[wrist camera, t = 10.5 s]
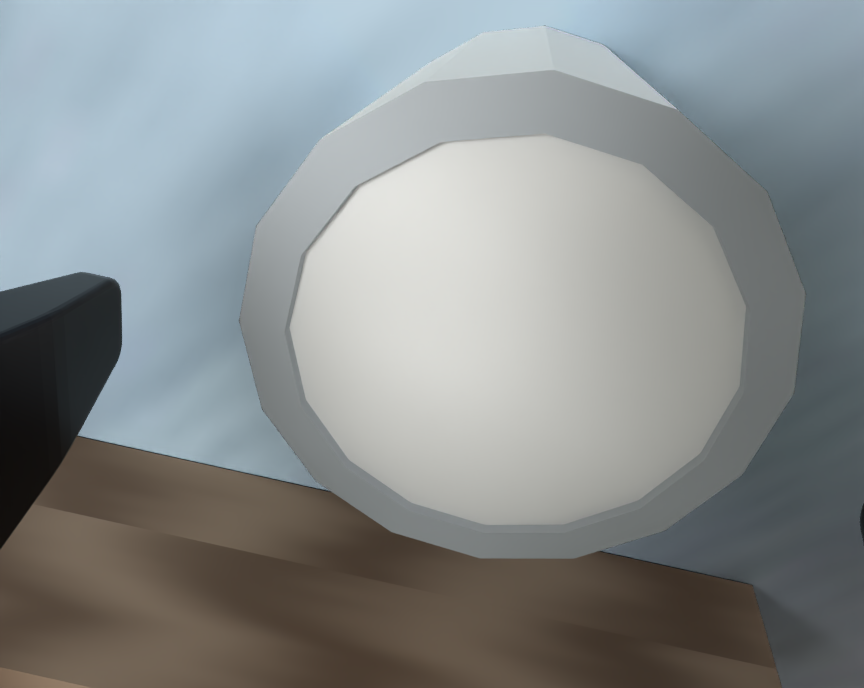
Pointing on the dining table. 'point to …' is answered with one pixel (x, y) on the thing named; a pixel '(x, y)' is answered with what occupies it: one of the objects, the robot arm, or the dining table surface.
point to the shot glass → (522, 305)
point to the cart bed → (330, 596)
